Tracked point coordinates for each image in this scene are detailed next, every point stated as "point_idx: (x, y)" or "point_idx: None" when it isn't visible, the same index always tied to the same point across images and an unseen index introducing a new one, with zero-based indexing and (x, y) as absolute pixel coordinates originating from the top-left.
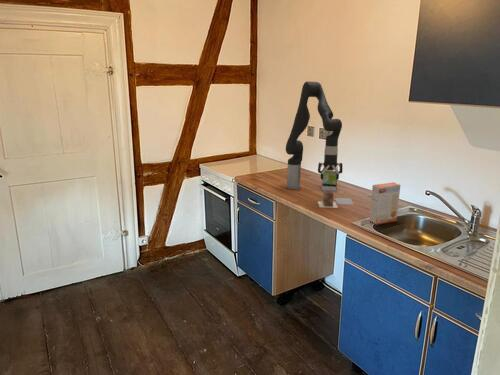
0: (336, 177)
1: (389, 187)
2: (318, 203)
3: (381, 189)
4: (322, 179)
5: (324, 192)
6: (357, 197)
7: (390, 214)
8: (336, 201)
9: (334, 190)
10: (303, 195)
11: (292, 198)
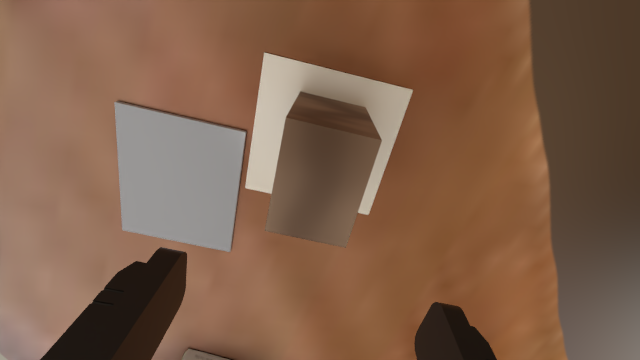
0: (158, 296)
1: None
2: (381, 176)
3: None
4: (453, 308)
5: (364, 190)
6: (70, 245)
7: None
8: (236, 188)
9: (194, 355)
10: (403, 325)
11: (499, 293)
